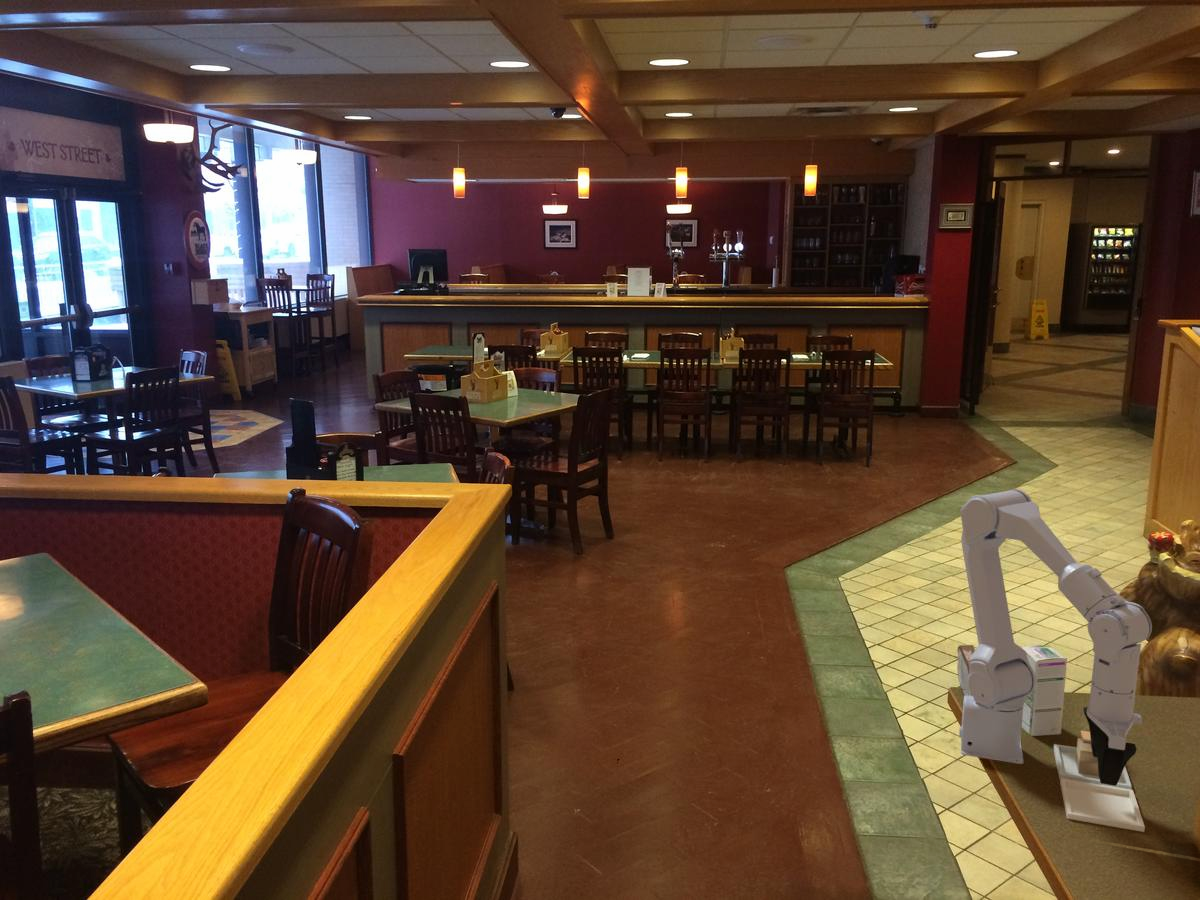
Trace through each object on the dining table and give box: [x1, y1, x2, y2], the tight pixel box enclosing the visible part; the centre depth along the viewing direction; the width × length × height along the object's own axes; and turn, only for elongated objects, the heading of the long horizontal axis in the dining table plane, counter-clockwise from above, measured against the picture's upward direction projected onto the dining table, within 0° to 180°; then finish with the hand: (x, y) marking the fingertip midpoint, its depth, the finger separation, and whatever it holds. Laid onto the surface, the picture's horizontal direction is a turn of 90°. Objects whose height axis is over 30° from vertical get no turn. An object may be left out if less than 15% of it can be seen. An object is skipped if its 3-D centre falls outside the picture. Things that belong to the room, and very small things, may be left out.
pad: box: [1080, 730, 1091, 740], centre depth 159 cm, size 6×6×1 cm
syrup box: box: [1020, 644, 1068, 737], centre depth 163 cm, size 6×6×14 cm
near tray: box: [1059, 778, 1146, 833], centre depth 141 cm, size 10×10×1 cm
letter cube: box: [1075, 737, 1099, 776], centre depth 151 cm, size 4×4×4 cm
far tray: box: [1053, 743, 1132, 790], centre depth 151 cm, size 10×10×1 cm
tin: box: [957, 644, 976, 697], centre depth 177 cm, size 15×3×8 cm, turn 168°
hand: (1104, 769), depth 140 cm, fingers open, 7 cm apart
